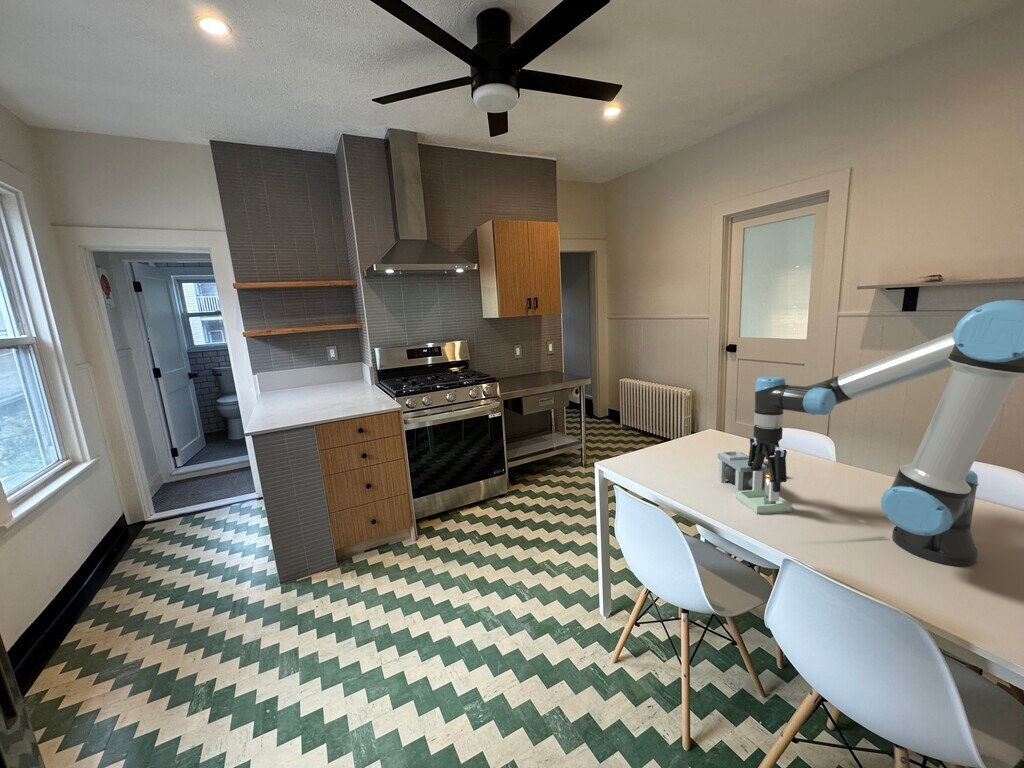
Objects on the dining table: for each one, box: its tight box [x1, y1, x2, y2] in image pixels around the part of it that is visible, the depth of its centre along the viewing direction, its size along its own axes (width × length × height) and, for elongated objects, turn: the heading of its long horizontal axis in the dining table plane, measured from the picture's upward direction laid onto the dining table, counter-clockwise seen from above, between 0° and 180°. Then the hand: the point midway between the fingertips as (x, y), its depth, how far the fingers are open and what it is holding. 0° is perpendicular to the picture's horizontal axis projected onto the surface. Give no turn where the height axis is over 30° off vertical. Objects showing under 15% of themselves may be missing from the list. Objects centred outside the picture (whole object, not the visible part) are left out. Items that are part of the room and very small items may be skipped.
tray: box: [735, 488, 792, 515], centre depth 125 cm, size 11×11×3 cm
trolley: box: [717, 450, 767, 495], centre depth 138 cm, size 14×10×12 cm
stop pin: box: [763, 472, 776, 505], centre depth 122 cm, size 3×3×10 cm
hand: (765, 495), depth 124 cm, fingers open, 7 cm apart
